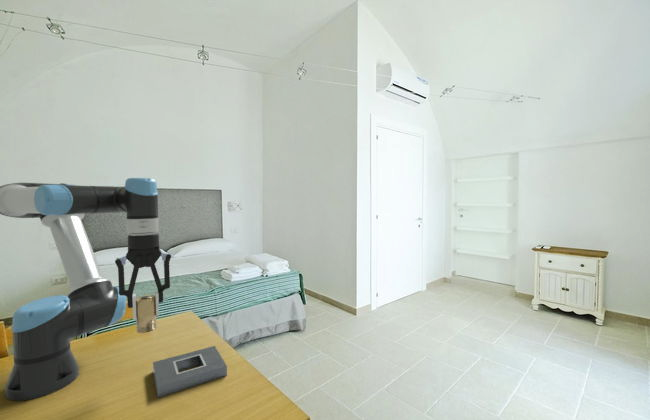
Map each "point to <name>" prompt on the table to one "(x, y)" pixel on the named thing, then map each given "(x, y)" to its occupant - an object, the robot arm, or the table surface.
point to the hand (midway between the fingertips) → (146, 316)
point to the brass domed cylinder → (146, 313)
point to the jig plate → (174, 381)
